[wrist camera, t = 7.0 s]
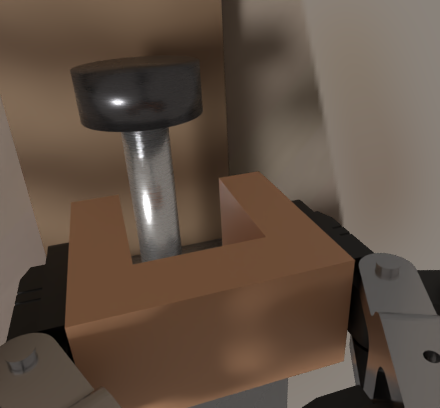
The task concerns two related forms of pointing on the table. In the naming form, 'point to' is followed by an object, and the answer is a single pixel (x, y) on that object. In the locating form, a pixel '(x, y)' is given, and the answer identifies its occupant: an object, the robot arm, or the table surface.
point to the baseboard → (100, 140)
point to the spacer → (206, 301)
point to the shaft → (144, 132)
